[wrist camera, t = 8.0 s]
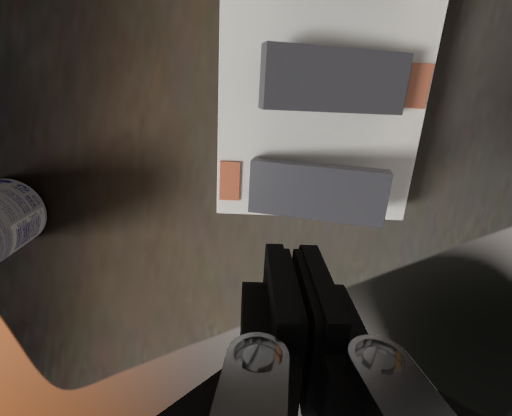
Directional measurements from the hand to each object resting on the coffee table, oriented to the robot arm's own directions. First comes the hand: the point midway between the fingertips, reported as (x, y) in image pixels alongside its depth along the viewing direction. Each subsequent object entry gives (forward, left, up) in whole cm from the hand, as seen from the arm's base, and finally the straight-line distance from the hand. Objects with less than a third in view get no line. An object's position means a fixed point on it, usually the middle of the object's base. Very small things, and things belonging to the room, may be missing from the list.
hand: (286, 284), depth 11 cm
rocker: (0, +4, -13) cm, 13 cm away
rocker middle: (-7, +4, -13) cm, 15 cm away
